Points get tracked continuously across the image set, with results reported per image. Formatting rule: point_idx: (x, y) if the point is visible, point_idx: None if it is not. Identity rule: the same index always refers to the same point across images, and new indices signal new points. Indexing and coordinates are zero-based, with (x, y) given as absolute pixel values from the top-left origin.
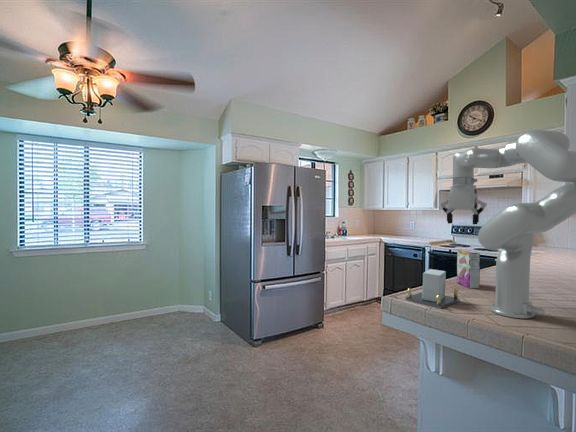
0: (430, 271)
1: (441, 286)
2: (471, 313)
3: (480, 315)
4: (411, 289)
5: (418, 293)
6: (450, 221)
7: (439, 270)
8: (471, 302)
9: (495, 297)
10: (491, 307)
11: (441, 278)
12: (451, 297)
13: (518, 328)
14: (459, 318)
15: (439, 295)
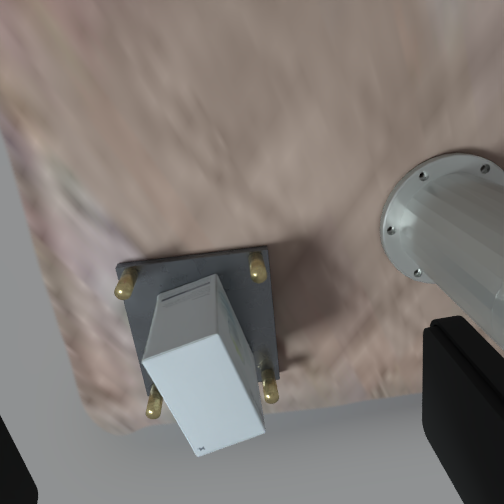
0: (193, 413)
1: (253, 375)
2: (358, 333)
3: (384, 328)
4: (160, 410)
5: (131, 322)
6: (12, 496)
7: (193, 352)
8: (300, 219)
9: (419, 263)
10: (395, 262)
11: (257, 402)
12: (238, 261)
13: (489, 340)
14: (356, 396)
15: (274, 397)
